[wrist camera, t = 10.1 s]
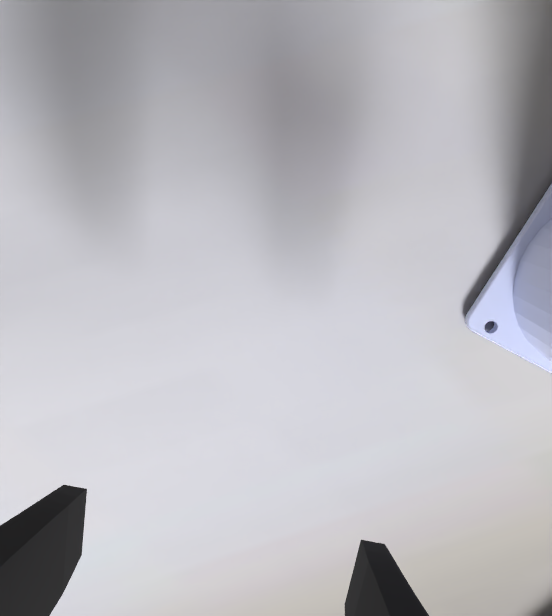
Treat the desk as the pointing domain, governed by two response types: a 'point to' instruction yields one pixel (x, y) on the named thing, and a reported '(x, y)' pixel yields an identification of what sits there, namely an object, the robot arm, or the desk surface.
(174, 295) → the desk surface
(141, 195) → the desk surface
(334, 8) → the desk surface
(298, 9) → the desk surface
